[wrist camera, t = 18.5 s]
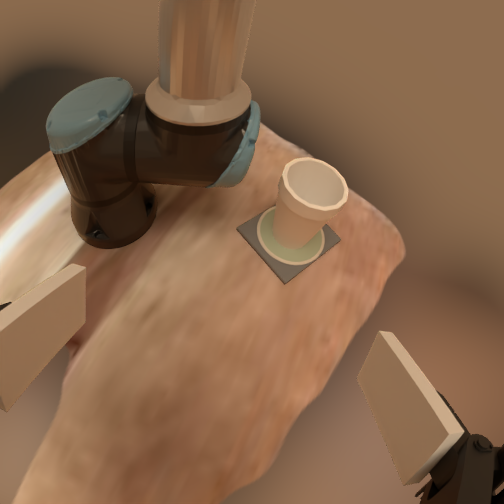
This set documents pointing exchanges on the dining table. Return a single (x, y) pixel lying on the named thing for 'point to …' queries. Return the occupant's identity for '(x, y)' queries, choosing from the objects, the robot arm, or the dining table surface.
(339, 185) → the foam cup
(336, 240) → the square coaster
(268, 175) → the dining table surface
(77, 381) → the dining table surface
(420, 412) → the robot arm
